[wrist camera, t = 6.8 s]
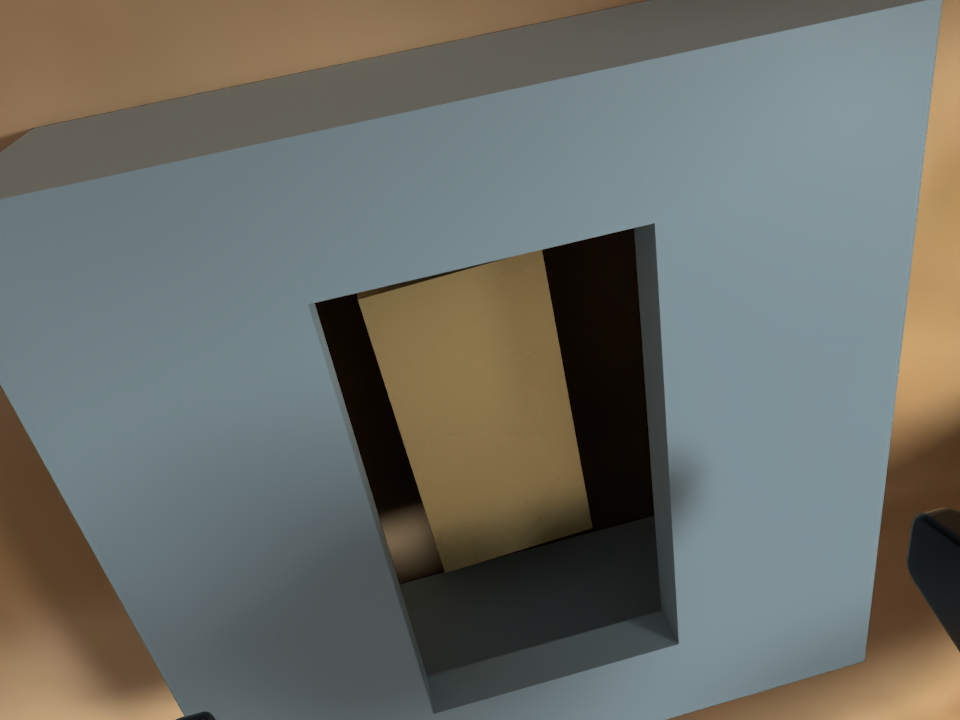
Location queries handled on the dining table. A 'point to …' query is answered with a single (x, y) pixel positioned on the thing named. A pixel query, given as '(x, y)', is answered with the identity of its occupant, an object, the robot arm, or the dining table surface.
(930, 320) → the dining table surface
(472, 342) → the tan wooden post
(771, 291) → the blue-grey hollow frame
